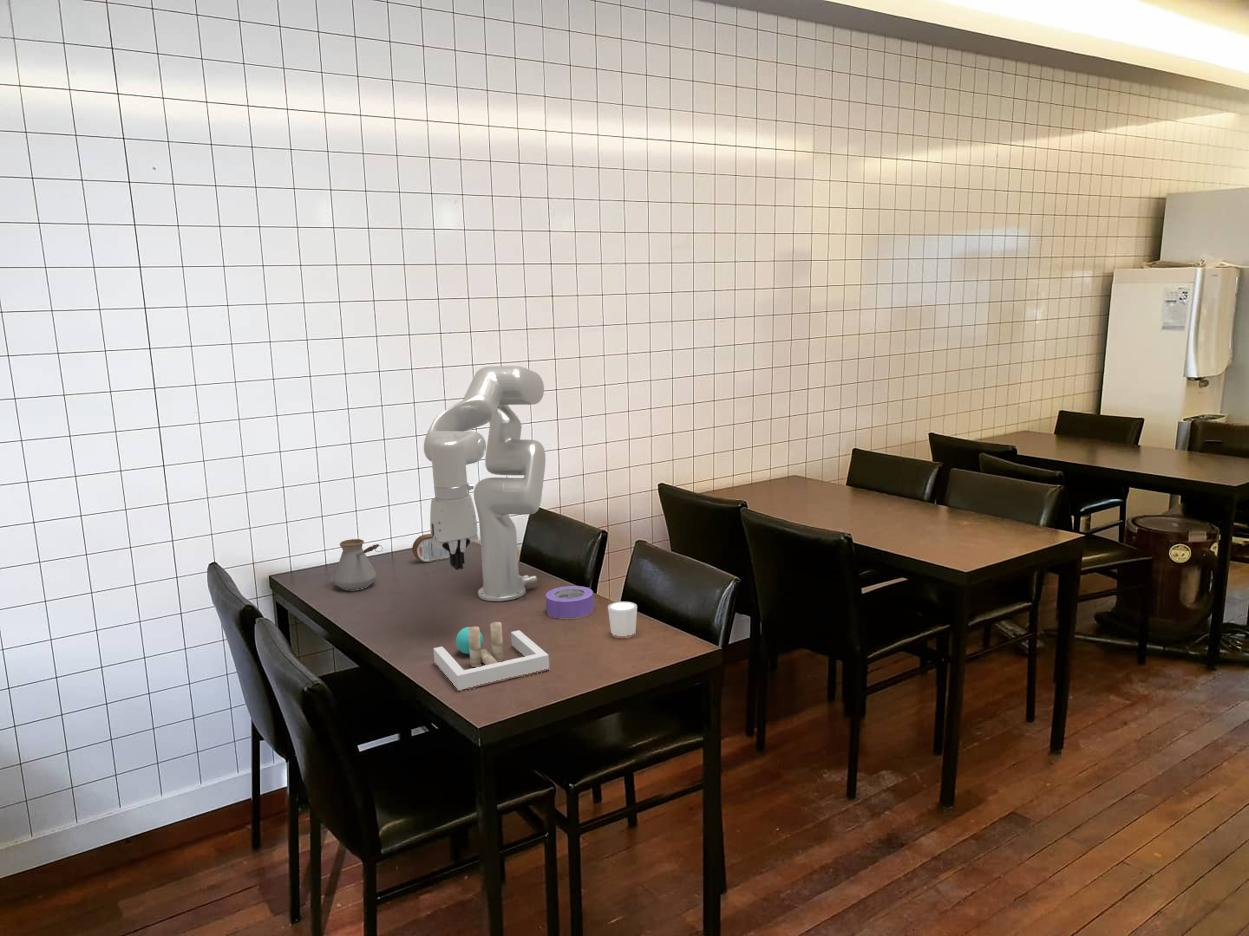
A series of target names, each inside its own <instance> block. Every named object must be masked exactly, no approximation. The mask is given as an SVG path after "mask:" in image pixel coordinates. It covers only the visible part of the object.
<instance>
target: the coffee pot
mask: <svg viewBox="0 0 1249 936" xmlns="http://www.w3.org/2000/svg"><path fill="white" fill-rule="evenodd" d="M364 543H365V541H364V539H362V538H361V539H360V538H359V539H358V538H352V539H345V540H343V541H341V542H339V546H340V548H341V549H342V552H341V554H340V557H339V561H338V564H337V566H336V571H335V573H334V576H333V582H334V584H335V585H337V587H338V588H341V589H342V588H343V589H347V590H356V589H361V588H365V587H367V586H369V585H370V586H371V584H373V583H374V582H375V580H376V578H377V573H376V570H375V569H374V567H373V565H372V563H371V562H370V560H369V558H368V556H367V555H366V554H367V553H370V552H372V551H375V552H377V553H380V552H382V551H383V549H384V548H383V546H382V545H381V544H379V543H378V544H377V543H376V544H373V545H371V546H368V547H367V548H365V549H363V544H364ZM379 546H380V547H381V550H379V551H378V550H376V549H378V548H379ZM370 586H369V587H370ZM343 589H342V590H343Z"/></svg>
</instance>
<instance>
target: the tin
mask: <svg viewBox="0 0 1249 936" xmlns="http://www.w3.org/2000/svg"><path fill="white" fill-rule="evenodd" d="M453 542H454V546H455V550H456V548H457V541H453ZM432 543H433V538H432V537H431V533H426V534H425V533H424V534H422V535H419V536H418V537H417V538H416V539H415V540H414V542H413V544H412V554H413V556H414V557H415V558H416V559H417V560H418V561H420V562H421V563H425V562H428V561H434V560H440V559H445V558H450V556H449V551H447V550H446V549H444V548H435V547H434V546H433V545H432ZM440 561H441V560H440ZM434 562H435V561H434ZM428 563H429V562H428Z"/></svg>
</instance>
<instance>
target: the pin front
mask: <svg viewBox="0 0 1249 936" xmlns="http://www.w3.org/2000/svg"><path fill="white" fill-rule="evenodd" d="M481 661H482V663H484V664H485V665H489V664H494V663H498V662H497V661H496V660H495V659H494V658H493V656H492V653H490V652H489V651H488V649H486V648H481ZM484 664H483V665H484ZM485 665H484V666H485Z"/></svg>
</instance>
